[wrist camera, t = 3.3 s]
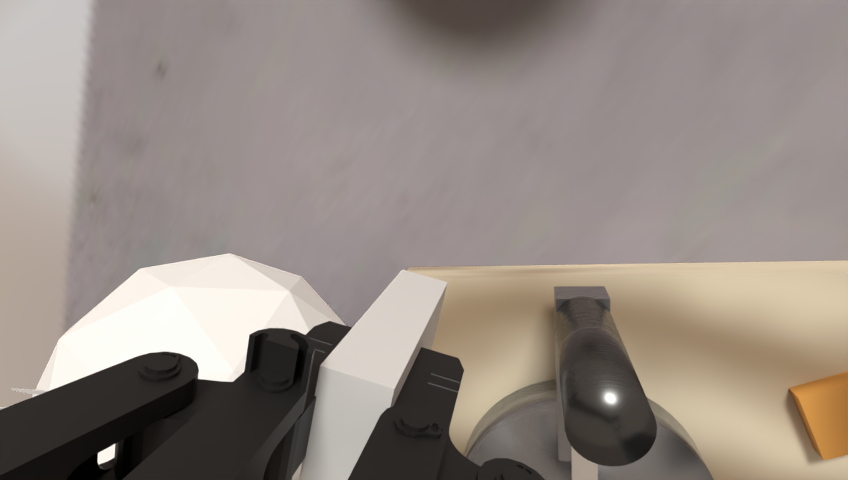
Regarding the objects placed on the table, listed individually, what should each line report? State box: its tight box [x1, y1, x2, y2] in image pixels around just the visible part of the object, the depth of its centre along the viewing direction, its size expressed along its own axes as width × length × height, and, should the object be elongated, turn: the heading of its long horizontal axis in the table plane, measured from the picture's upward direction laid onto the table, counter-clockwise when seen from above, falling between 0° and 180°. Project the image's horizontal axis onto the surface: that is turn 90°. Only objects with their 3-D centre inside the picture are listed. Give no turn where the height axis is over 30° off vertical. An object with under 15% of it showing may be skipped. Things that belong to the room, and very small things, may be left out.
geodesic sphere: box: [0, 254, 346, 480], centre depth 22 cm, size 14×14×14 cm
